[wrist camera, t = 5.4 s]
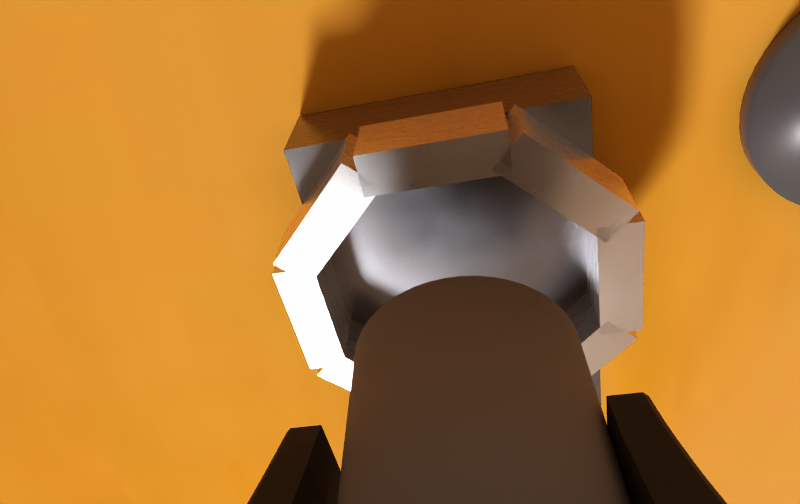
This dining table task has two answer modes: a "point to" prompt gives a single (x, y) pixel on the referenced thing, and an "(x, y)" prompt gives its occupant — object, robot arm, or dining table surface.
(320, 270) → the grey octagonal container
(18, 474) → the dining table surface
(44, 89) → the dining table surface
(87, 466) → the dining table surface
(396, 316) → the lens
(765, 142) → the lens cap
